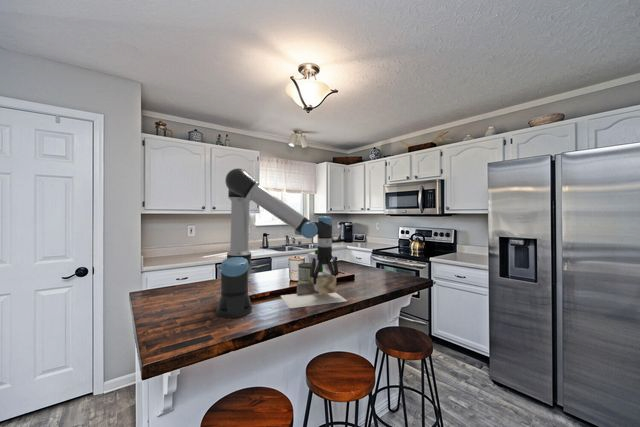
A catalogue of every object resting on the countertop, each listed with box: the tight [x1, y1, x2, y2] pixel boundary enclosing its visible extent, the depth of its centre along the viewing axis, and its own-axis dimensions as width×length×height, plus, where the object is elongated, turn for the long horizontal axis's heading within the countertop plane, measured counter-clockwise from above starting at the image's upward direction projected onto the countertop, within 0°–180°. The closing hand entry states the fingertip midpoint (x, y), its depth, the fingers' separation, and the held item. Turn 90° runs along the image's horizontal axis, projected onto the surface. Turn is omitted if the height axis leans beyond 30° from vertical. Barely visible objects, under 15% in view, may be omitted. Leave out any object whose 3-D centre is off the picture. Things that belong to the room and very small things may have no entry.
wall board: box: [280, 292, 348, 309], centre depth 141 cm, size 30×19×1 cm, turn 112°
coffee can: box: [297, 262, 316, 284], centre depth 159 cm, size 10×10×14 cm
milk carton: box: [307, 249, 324, 272], centre depth 176 cm, size 9×9×20 cm
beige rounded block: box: [313, 271, 337, 294], centre depth 143 cm, size 8×12×8 cm, turn 22°
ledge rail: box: [296, 282, 319, 295], centre depth 150 cm, size 20×2×7 cm, turn 112°
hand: (324, 289), depth 143 cm, fingers closed on beige rounded block, 8 cm apart
